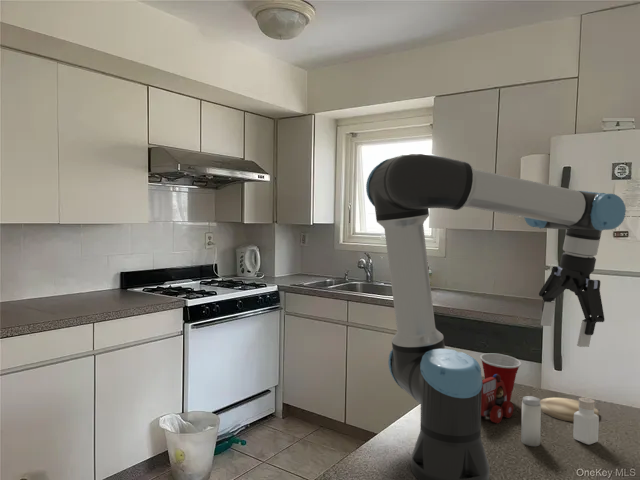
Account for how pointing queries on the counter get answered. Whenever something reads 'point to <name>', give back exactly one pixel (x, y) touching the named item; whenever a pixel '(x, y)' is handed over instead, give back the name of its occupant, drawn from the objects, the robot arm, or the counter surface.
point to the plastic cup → (501, 369)
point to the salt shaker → (531, 421)
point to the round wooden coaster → (561, 408)
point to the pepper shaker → (586, 422)
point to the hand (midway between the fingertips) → (563, 335)
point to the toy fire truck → (495, 399)
